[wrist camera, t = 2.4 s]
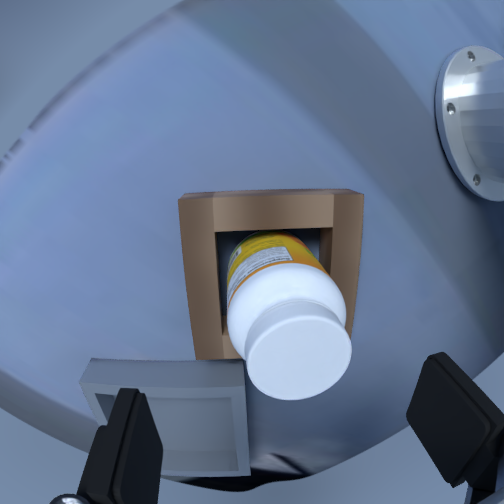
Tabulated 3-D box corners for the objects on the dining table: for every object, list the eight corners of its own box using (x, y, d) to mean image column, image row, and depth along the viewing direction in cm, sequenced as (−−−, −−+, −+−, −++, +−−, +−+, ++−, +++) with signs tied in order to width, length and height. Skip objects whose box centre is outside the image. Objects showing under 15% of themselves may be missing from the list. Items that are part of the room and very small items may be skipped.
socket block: (348, 189, 19) (364, 194, 16) (338, 328, 22) (349, 347, 20) (184, 193, 18) (177, 199, 16) (198, 338, 21) (196, 360, 19)
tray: (242, 359, 22) (244, 385, 19) (248, 451, 26) (250, 475, 23) (91, 358, 21) (78, 381, 19) (129, 448, 25) (124, 470, 22)
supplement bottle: (321, 288, 21) (379, 381, 12) (246, 317, 21) (259, 427, 12) (295, 214, 19) (354, 273, 10) (213, 246, 19) (201, 332, 10)
